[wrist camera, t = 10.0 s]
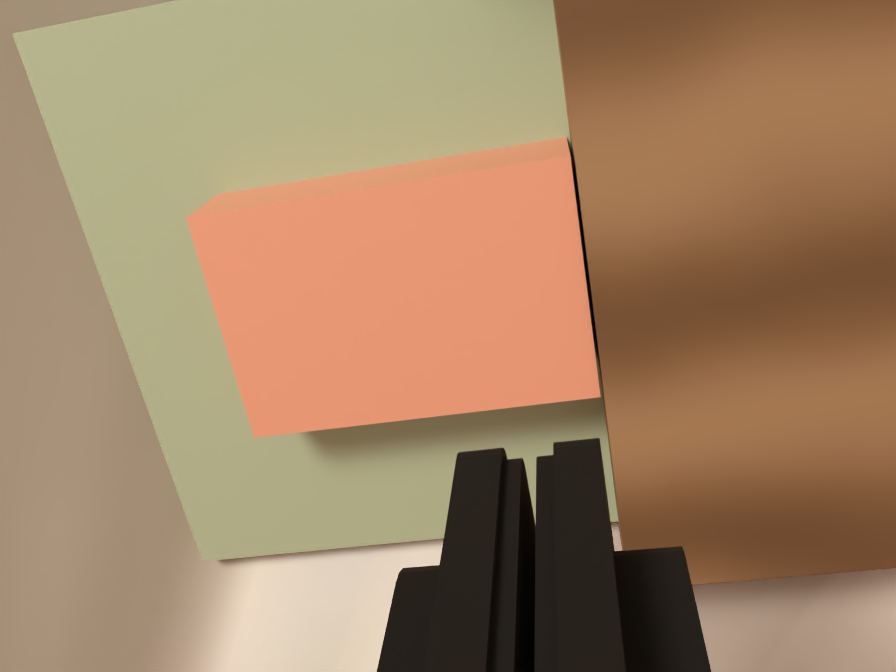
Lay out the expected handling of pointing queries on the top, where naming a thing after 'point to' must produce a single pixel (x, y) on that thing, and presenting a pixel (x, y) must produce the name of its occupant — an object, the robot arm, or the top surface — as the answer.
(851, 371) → the board
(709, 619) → the top surface
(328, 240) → the coral block
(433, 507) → the sage mat
